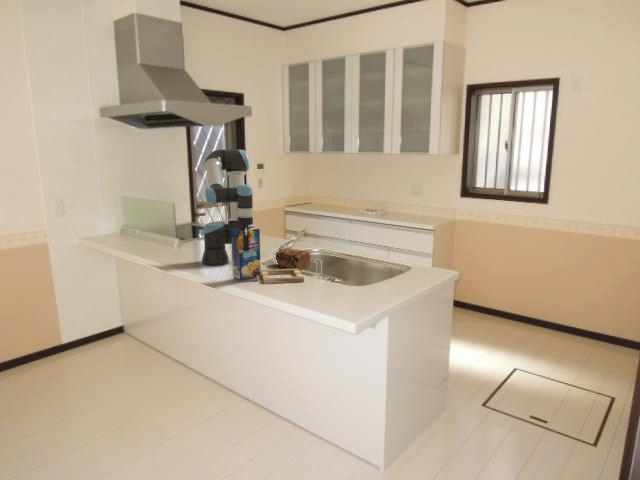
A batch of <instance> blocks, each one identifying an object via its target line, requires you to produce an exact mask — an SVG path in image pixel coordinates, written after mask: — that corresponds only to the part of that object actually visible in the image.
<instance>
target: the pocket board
mask: <svg viewBox="0 0 640 480" xmlns="http://www.w3.org/2000/svg"><path fill="white" fill-rule="evenodd" d="M270 274H271V276H272V274H273V275H289V274H290V275H292V274H293V275H294V276H286V277H282V276H281V277H270ZM260 276H261V279H262V281H263V282H262V283H263V284H265V285H266V284H281V283H282V284H283V283H305V277H304V275H303V274H302V272H301V270H299V269H290V268H282V269H277V268H276V269H275V268H274V269H261V275H260Z"/></svg>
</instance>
